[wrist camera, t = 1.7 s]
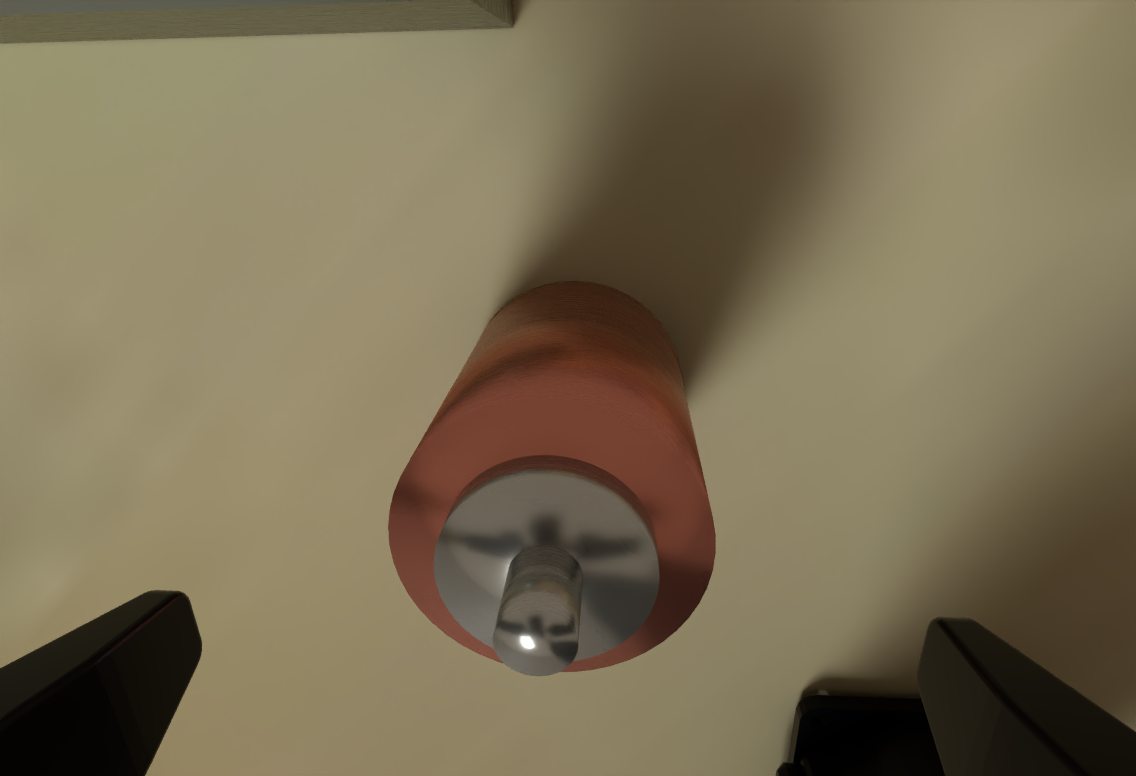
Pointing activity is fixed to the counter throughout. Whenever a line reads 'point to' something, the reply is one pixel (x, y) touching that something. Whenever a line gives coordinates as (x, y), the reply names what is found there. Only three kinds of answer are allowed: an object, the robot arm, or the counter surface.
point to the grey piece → (237, 18)
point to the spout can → (559, 489)
